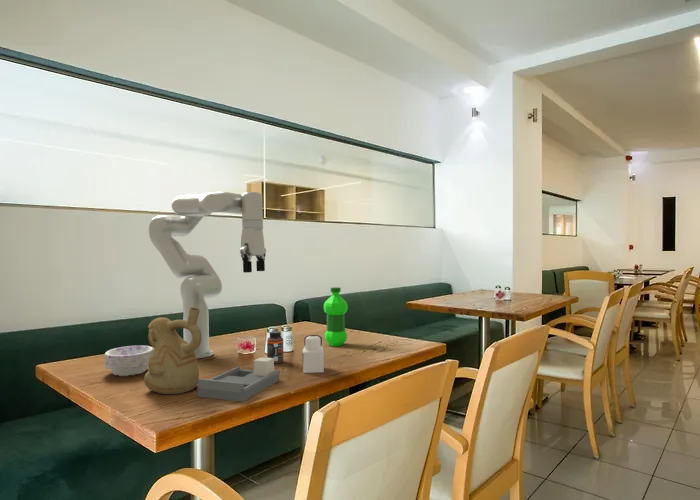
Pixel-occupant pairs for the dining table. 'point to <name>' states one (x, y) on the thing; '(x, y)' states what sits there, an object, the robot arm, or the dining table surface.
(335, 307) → the plastic bottle
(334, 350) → the dining table surface
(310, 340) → the medicine bottle
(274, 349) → the supplement bottle
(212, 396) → the tray
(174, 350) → the ceramic vessel
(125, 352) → the paper bowls
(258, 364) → the cream block
